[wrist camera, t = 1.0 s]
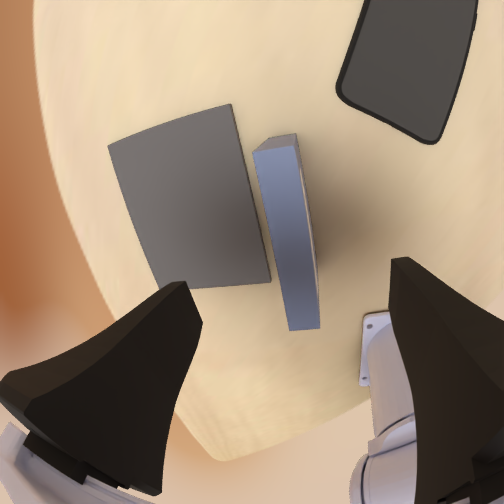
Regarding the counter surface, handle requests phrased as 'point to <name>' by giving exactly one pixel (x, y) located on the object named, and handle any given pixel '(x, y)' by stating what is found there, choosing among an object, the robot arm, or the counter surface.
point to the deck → (290, 228)
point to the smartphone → (408, 63)
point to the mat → (192, 201)
